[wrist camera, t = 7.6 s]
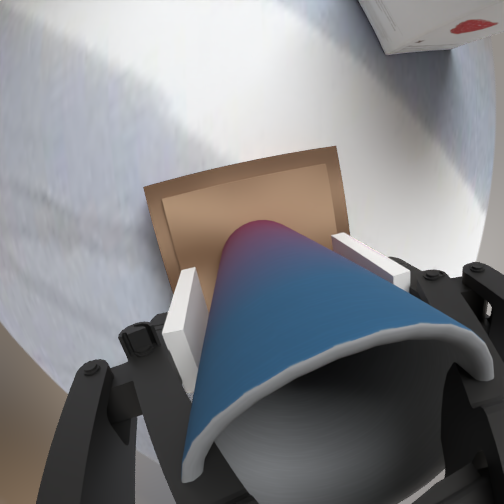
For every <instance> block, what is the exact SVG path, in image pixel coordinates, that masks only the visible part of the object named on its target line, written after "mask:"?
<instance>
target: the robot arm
mask: <svg viewBox="0 0 504 504" xmlns="http://www.w3.org/2000/svg"><path fill="white" fill-rule="evenodd" d="M331 238H332V246H333V251H334V252H336V253H338V254H339V255H341V256H343V257H345V258H347V259H349V260H350V261H352V262H354V263H356V264H358V265H360V266H361V267H363V268H365V269H367V270H369V271H371V272H372V273H374V274H376V275H378V276H380V277H381V278H383V279H385V280H387V281H388V282H390V283H392V284H394V285H396V286H397V287H399V288H401V289H403V290H404V291H406V292H408V293H410V294H411V295H413V296H415V297H417V298H418V299H420V300H422V301H423V302H425V303H427V304H429V305H430V306H432V307H434V308H435V309H437V310H439V311H441V312H442V313H444V314H446V315H447V316H449V317H451V318H452V319H454V320H456V321H457V322H459V323H461V324H462V325H464V326H466V327H467V328H469V329H471V330H472V331H473V332H474V333H475V334H476V335H477V336H479V337H480V338H481V339H482V340H483V341H484V342H485V344H486V346H487V348H488V350H489V352H490V354H491V356H492V359H493V368H494V378H493V379H492V380H489V381H478V380H476V379H475V378H474V377H472V376H471V375H470V374H469V373H468V372H466V371H465V370H464V369H463V368H462V367H460V366H459V365H458V364H457V363H456V362H454V363H453V364H452V365H451V367H450V369H449V370H448V372H447V375H446V379H445V383H444V388H443V398H442V408H441V443H442V449H443V455H444V461H445V478H444V479H443V480H441V481H439V482H438V483H436V484H435V485H434V486H432V487H431V488H430V489H429V490H428V491H427V492H425V493H424V494H423V495H422V496H421V497H419V498H418V499H417V500H416V501H414V502H413V503H412V504H504V275H503V274H501V273H500V272H498V271H496V270H495V269H493V268H491V267H490V266H488V265H486V264H482V263H480V262H472V263H469V264H466V265H464V267H463V273H462V277H456V278H450V277H449V276H448V275H447V274H446V273H445V272H443V271H440V270H426V271H421V270H419V269H417V268H415V267H414V266H411V265H410V264H408V263H406V262H405V261H403V260H401V259H399V258H395V257H386V256H385V255H383V254H381V253H379V252H378V251H376V250H374V249H372V248H371V247H369V246H367V245H365V244H364V243H362V242H360V241H358V240H357V239H355V238H353V237H351V236H349V235H348V234H346V233H344V232H343V233H339V234H334V235H331ZM488 302H489V303H490V305H491V307H492V311H491V316H488V315H487V314H486V312H487V305H488ZM208 314H209V312H208V309H207V306H206V302H205V299H204V295H203V292H202V289H201V285H200V282H199V278H198V275H197V271H196V267H193V268H189V269H184V270H181V273H180V277H179V280H178V283H177V286H176V289H175V292H174V295H173V298H172V302H171V305H170V308H169V311H168V312H166V313H161V314H157V315H156V316H155V317H154V318H153V319H152V320H151V321H150V322H139V323H135V324H132V325H130V326H128V327H126V328H125V329H124V330H122V331H121V332H120V334H119V337H118V338H119V340H120V343H121V345H122V347H123V349H124V352H125V354H126V356H127V358H128V362H126V363H124V364H122V365H119V366H116V367H113V368H110V367H109V365H108V363H107V362H106V361H105V360H101V359H99V360H93V361H89V362H87V363H85V364H84V365H83V366H82V367H81V368H79V370H78V371H77V373H76V375H75V378H74V381H73V383H72V386H71V388H70V391H69V394H68V397H67V399H66V402H65V405H64V408H63V410H62V414H61V416H60V419H59V423H58V425H57V428H56V431H55V435H54V438H53V441H52V444H51V447H50V451H49V455H48V458H47V461H46V465H45V469H44V473H43V476H42V481H41V484H40V488H39V493H38V497H37V501H36V504H135V451H136V430H137V416H139V415H142V414H143V416H144V420H145V423H146V426H147V429H148V432H149V435H150V438H151V441H152V444H153V446H154V449H155V452H156V455H157V457H158V460H159V463H160V465H161V468H162V470H163V473H164V475H165V478H166V480H167V483H168V485H169V487H170V490H171V492H172V495H173V497H174V499H175V501H176V504H259V503H258V502H257V500H256V499H255V498H254V497H253V496H252V495H251V494H249V492H248V491H247V490H246V488H245V487H244V486H243V484H242V483H241V481H240V480H239V478H238V477H237V476H236V474H235V473H234V471H233V470H232V468H231V467H230V465H229V464H228V462H227V461H226V459H225V458H224V456H223V454H222V453H221V451H220V450H219V448H218V447H217V445H216V443H215V442H213V444H212V446H211V448H210V449H209V451H208V453H207V455H206V457H205V460H204V468H203V472H202V474H201V475H200V476H199V477H198V478H196V479H195V480H194V481H191V482H187V483H182V482H181V470H182V459H183V452H184V446H185V440H186V435H187V429H188V423H189V417H190V412H191V406H192V403H191V401H190V399H189V397H188V396H187V394H186V393H193V392H194V389H195V384H196V379H197V373H198V368H199V363H200V357H201V352H202V347H203V342H204V337H205V332H206V327H207V322H208ZM182 384H183V386H184V388H185V390H184V388H183V386H182ZM185 391H186V392H185Z"/></svg>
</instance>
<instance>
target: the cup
mask: <svg viewBox="0 0 504 504" xmlns="http://www.w3.org/2000/svg"><path fill="white" fill-rule="evenodd" d="M454 362H456V363H457V364H458V365H459V366H460V367H462V368H463V369H464V370H465V371H466V372H468V373H469V374H470V375H471V376H472V377H474V378H475V379H476V380H478V381H489V380H492V379H493V378H494V368H493V359H492V356H491V354H490V352H489V350H488V348H487V346H486V344H485V342H484V341H483V340H482V339H481V338H480V337H479V336H477V335H476V334H475V333H474V332H473V331H472V330H471V329H469V328H467V327H466V326H464V325H462V324H461V323H459V322H457V321H456V320H454V319H452V318H451V317H449V316H447V315H446V314H444V313H442V312H441V311H439V310H437V309H435V308H434V307H432V306H430V305H429V304H427V303H425V302H423V301H422V300H420V299H418V298H417V297H415V296H413V295H411V294H410V293H408V292H406V291H404V290H403V289H401V288H399V287H397V286H396V285H394V284H392V283H390V282H388V281H387V280H385V279H383V278H381V277H380V276H378V275H376V274H374V273H372V272H371V271H369V270H367V269H365V268H363V267H361V266H360V265H358V264H356V263H354V262H352V261H350V260H349V259H347V258H345V257H343V256H341V255H339V254H338V253H336V252H334V251H332V250H330V249H328V248H326V247H324V246H323V245H321V244H319V243H317V242H315V241H313V240H311V239H309V238H307V237H306V236H304V235H302V234H300V233H298V232H296V231H294V230H292V229H290V228H288V227H286V226H284V225H282V224H280V223H278V222H275V221H270V220H256V221H252V222H248V223H246V224H244V225H242V226H240V227H239V228H238V229H236V230H235V231H234V232H233V233H232V234H231V235H230V236H229V238H228V239H227V241H226V243H225V245H224V248H223V250H222V255H221V259H220V264H219V269H218V273H217V278H216V283H215V288H214V292H213V297H212V302H211V307H210V312H209V317H208V322H207V327H206V332H205V337H204V342H203V347H202V352H201V357H200V363H199V368H198V373H197V379H196V384H195V389H194V395H193V400H192V406H191V412H190V417H189V423H188V429H187V435H186V440H185V446H184V452H183V459H182V470H181V482H182V483H187V482H191V481H194V480H195V479H196V478H198V477H199V476H200V475H201V474H202V472H203V468H204V460H205V457H206V455H207V453H208V451H209V449H210V448H211V446H212V444H213V442H215V443H216V445H217V447H218V448H219V450H220V451H221V453H222V454H223V456H224V458H225V459H226V461H227V462H228V464H229V465H230V467H231V468H232V470H233V471H234V473H235V474H236V476H237V477H238V478H239V480H240V481H241V483H242V484H243V486H244V487H245V488H246V490H247V491H248V492H249V494H251V495H252V496H253V497H254V498H255V499H256V500H257V502H258V503H259V504H398V503H399V502H401V501H403V500H404V499H406V498H408V497H409V496H411V495H412V494H414V493H415V492H417V491H418V490H419V489H421V488H422V487H423V486H425V485H426V484H428V483H429V482H430V481H431V480H432V479H434V478H435V477H436V476H437V475H438V474H439V473H440V472H441V471H443V470H444V469H445V461H444V455H443V449H442V443H441V408H442V398H443V388H444V383H445V379H446V375H447V372H448V370H449V369H450V367H451V365H452V364H453V363H454Z"/></svg>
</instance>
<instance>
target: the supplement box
mask: <svg viewBox="0 0 504 504" xmlns="http://www.w3.org/2000/svg"><path fill="white" fill-rule="evenodd" d="M358 1H359V3H360V5H361V7H362V8H363V10H364V12H365V14H366V16H367V18H368V20H369V22H370V24H371V25H372V27H373V29H374V31H375V33H376V35H377V37H378V40H379V42H380V44H381V46H382V48H383V50H384V53H385V54H386V55H392V54H401V53H410V52H421V51H434V50H449V49H453V48H456V47H458V46H461V45H464V44H467V43H470V42H473V41H476V40H479V39H482V38H485V37H489V36H492V35H495V34H498V33H501V32H504V0H358Z"/></svg>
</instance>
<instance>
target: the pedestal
mask: <svg viewBox="0 0 504 504" xmlns="http://www.w3.org/2000/svg"><path fill="white" fill-rule="evenodd" d="M143 188H144V192H145V196H146V200H147V204H148V208H149V212H150V216H151V219H152V223H153V227H154V231H155V234H156V238H157V241H158V245H159V248H160V252H161V255H162V259H163V262H164V265H165V269H166V272H167V275H168V279H169V282H170V285H171V288H172V291H173V294H174V292H175V289H176V286H177V283H178V280H179V277H180V273H181V270H184V269H189V268H193V267H196V271H197V275H198V278H199V282H200V285H201V289H202V292H203V295H204V299H205V302H206V306H207V309H208V312H210V307H211V302H212V297H213V292H214V288H215V283H216V278H217V273H218V269H219V264H220V259H221V255H222V250H223V248H224V245H225V243H226V241H227V239H228V238H229V236H230V235H231V234H232V233H233V232H234V231H235V230H236V229H238V228H239V227H240V226H242V225H244V224H246V223H248V222H252V221H256V220H270V221H275V222H278V223H280V224H282V225H284V226H286V227H288V228H290V229H292V230H294V231H296V232H298V233H300V234H302V235H304V236H306V237H307V238H309V239H311V240H313V241H315V242H317V243H319V244H321V245H323V246H324V247H326V248H328V249H330V250H332V251H333V246H332V238H331V235H334V234H339V233H343V232H344V233H346V234H348V235H349V236H350V231H349V223H348V216H347V209H346V202H345V195H344V189H343V182H342V176H341V170H340V165H339V159H338V154H337V148H336V146H332V147H325V148H318V149H312V150H306V151H300V152H294V153H288V154H283V155H277V156H272V157H267V158H262V159H257V160H252V161H247V162H242V163H238V164H233V165H228V166H224V167H219V168H215V169H211V170H207V171H202V172H198V173H194V174H190V175H186V176H182V177H178V178H175V179H171V180H167V181H163V182H160V183H156V184H152V185H149V186H145V187H143ZM208 317H209V314H208Z"/></svg>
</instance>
